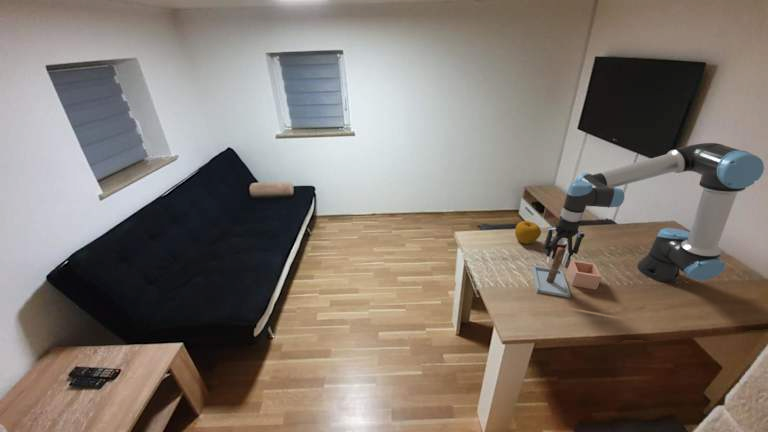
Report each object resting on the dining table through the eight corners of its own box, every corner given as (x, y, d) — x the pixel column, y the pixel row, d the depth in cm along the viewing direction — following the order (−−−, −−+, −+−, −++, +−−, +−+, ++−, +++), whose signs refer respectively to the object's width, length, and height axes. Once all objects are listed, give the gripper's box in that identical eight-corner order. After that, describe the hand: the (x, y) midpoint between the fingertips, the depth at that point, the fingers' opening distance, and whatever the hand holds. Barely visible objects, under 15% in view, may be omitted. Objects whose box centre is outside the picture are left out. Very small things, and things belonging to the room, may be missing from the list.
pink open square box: (589, 277, 143) (594, 263, 139) (595, 290, 135) (601, 276, 131) (566, 273, 146) (570, 259, 142) (570, 286, 137) (576, 272, 133)
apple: (519, 232, 179) (523, 215, 173) (541, 241, 170) (546, 224, 165) (508, 240, 171) (512, 223, 166) (531, 250, 163) (536, 232, 157)
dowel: (552, 279, 140) (564, 248, 131) (554, 284, 137) (566, 251, 129) (545, 278, 141) (557, 246, 132) (547, 282, 138) (558, 250, 129)
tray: (531, 268, 149) (532, 265, 148) (560, 273, 145) (562, 269, 144) (536, 293, 134) (537, 289, 133) (569, 299, 130) (570, 295, 129)
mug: (568, 263, 152) (573, 247, 147) (552, 264, 152) (557, 248, 147) (556, 251, 161) (561, 236, 156) (541, 252, 161) (546, 236, 156)
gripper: (593, 216, 124) (576, 262, 135) (544, 211, 129) (532, 255, 140) (599, 225, 118) (581, 272, 129) (547, 219, 122) (534, 264, 133)
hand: (555, 263), depth 134 cm, fingers open, 5 cm apart
